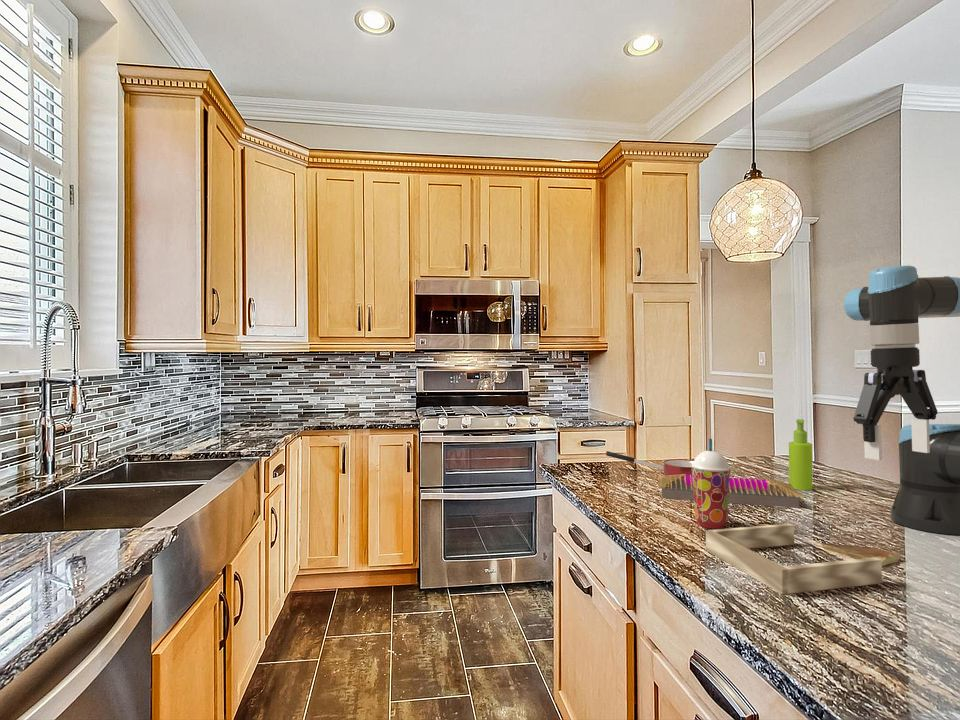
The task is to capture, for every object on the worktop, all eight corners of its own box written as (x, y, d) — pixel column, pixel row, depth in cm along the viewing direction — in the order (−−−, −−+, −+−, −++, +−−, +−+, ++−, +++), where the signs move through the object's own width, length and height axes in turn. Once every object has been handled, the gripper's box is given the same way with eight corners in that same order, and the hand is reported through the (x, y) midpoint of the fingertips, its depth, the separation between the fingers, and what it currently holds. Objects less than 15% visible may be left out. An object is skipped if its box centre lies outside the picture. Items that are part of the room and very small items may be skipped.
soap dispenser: (812, 486, 158) (812, 419, 158) (812, 491, 152) (811, 421, 152) (789, 483, 161) (789, 418, 161) (788, 488, 155) (788, 420, 155)
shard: (820, 550, 107) (820, 541, 107) (843, 544, 111) (843, 536, 111) (880, 569, 98) (880, 560, 98) (903, 562, 101) (903, 553, 101)
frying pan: (602, 474, 176) (602, 455, 176) (608, 467, 188) (608, 449, 188) (706, 482, 164) (706, 461, 164) (706, 473, 176) (706, 454, 176)
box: (789, 542, 111) (789, 523, 111) (881, 583, 91) (881, 559, 91) (705, 550, 107) (705, 530, 107) (782, 594, 87) (782, 570, 87)
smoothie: (700, 517, 128) (700, 435, 128) (736, 525, 123) (736, 438, 122) (685, 525, 123) (684, 439, 123) (722, 533, 117) (721, 442, 117)
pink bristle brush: (790, 496, 148) (790, 474, 148) (804, 511, 135) (803, 486, 135) (658, 487, 159) (658, 467, 159) (658, 500, 146) (658, 478, 146)
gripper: (916, 345, 111) (919, 446, 111) (829, 349, 103) (832, 458, 103) (958, 344, 104) (961, 452, 104) (869, 348, 96) (872, 465, 96)
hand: (897, 455), depth 104 cm, fingers open, 13 cm apart
